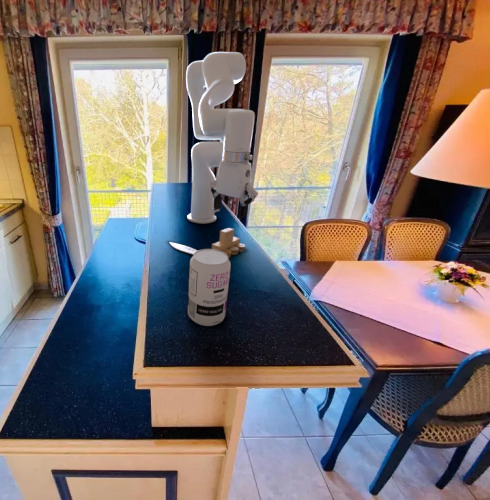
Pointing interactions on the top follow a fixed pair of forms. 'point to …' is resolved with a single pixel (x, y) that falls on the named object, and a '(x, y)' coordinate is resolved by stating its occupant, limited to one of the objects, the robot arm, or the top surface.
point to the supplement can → (208, 286)
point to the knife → (184, 248)
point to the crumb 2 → (240, 247)
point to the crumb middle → (233, 250)
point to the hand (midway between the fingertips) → (229, 213)
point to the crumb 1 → (227, 252)
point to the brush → (226, 240)
